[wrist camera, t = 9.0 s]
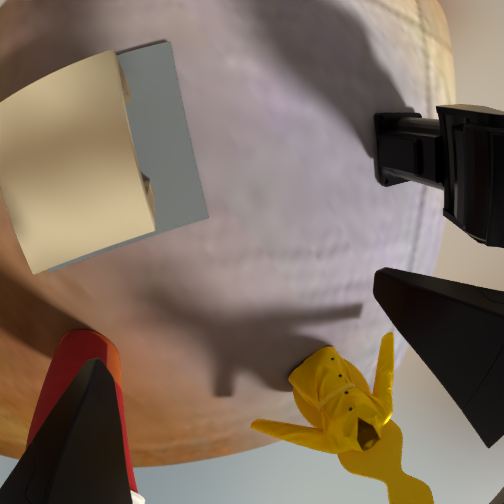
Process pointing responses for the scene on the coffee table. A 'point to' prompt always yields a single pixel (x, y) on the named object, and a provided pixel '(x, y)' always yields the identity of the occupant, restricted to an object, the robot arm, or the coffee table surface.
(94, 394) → the robot arm
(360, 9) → the coffee table surface
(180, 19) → the coffee table surface
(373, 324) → the coffee table surface
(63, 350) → the paper cup
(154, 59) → the felt pad
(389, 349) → the figure statuette
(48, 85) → the stool
